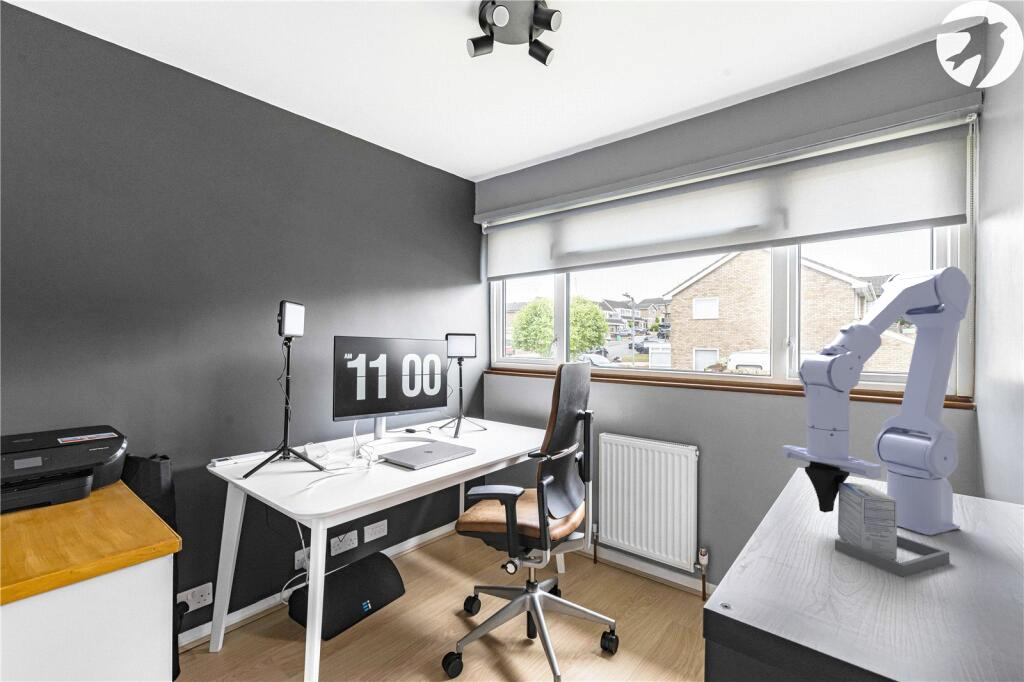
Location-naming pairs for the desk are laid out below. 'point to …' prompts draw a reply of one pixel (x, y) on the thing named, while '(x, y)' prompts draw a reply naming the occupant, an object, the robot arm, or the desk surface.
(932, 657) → the desk surface
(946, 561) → the dock
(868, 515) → the medicine box
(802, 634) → the desk surface
